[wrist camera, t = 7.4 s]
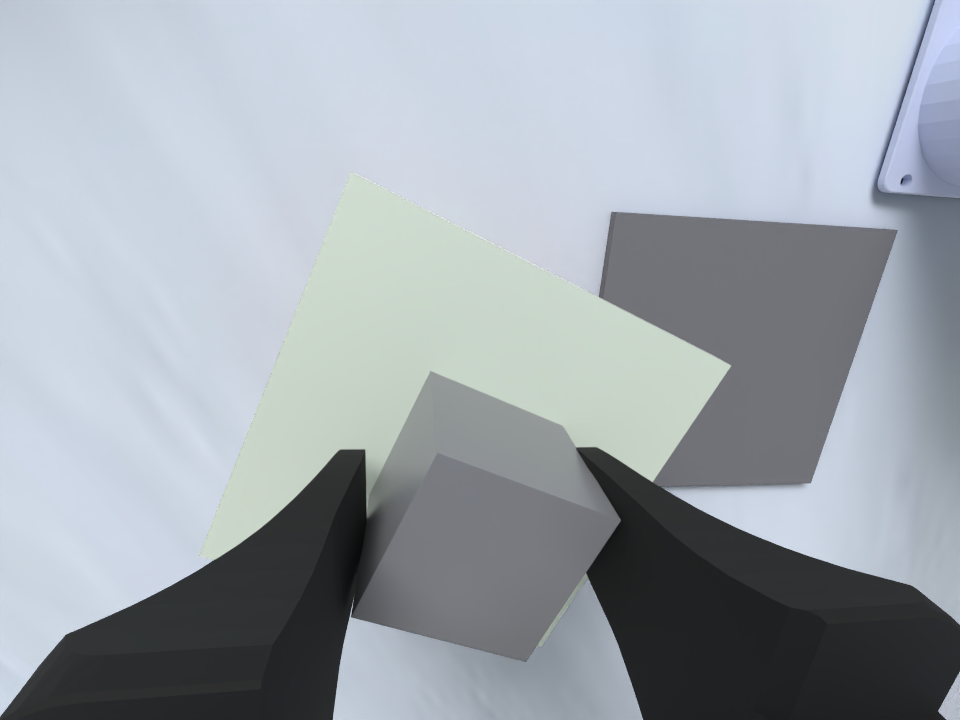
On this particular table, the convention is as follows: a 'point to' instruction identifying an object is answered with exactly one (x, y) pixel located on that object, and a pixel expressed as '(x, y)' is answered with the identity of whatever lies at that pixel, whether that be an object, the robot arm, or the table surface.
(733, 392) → the mat
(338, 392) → the sheet lid
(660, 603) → the robot arm
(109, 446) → the table surface
